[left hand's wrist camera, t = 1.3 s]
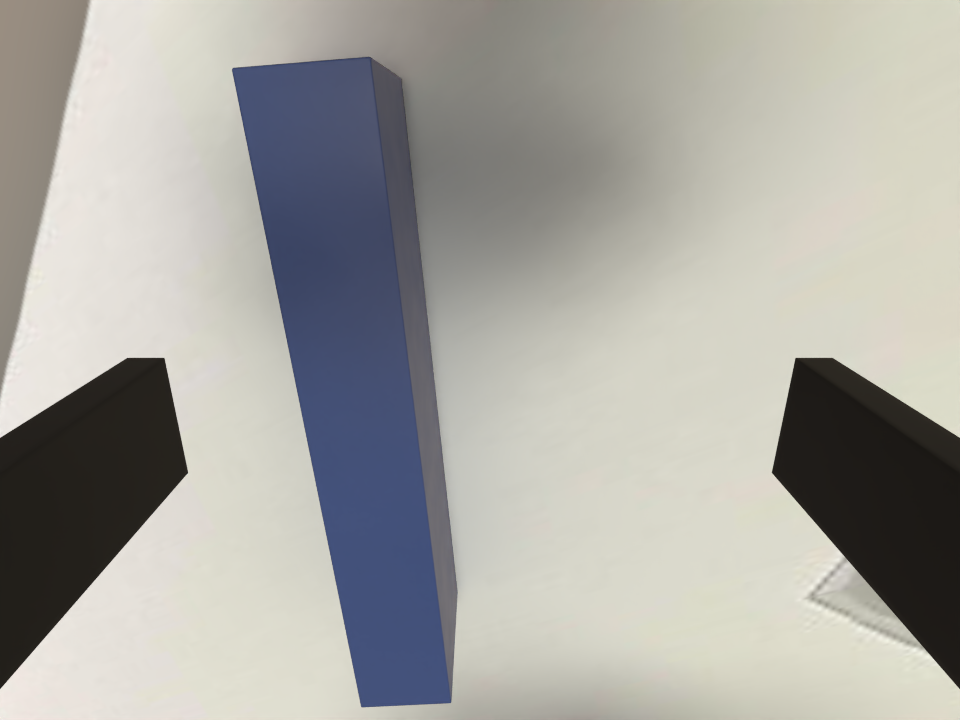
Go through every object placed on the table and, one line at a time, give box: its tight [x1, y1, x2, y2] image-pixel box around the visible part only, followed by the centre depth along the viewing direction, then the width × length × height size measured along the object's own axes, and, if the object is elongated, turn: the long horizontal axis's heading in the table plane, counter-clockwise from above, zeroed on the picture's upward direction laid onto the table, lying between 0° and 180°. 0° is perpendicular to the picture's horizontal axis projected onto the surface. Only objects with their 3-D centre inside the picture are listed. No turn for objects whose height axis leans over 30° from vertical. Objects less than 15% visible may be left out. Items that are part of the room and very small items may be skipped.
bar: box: [232, 57, 457, 707], centre depth 32 cm, size 34×5×9 cm, turn 4°
